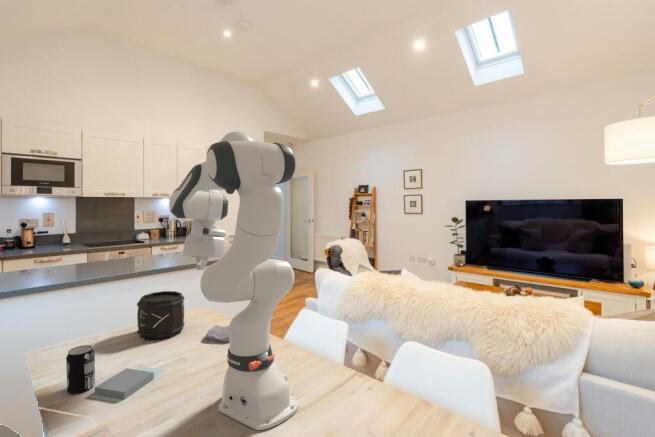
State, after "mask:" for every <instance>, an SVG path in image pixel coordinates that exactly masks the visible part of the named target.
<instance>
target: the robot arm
mask: <svg viewBox="0 0 655 437" xmlns="http://www.w3.org/2000/svg"><path fill="white" fill-rule="evenodd" d="M295 172H296V157H295V154H294V153H293V150H292V148H290V147H289V146H288V145H286V144H283V143H281V142H266V141H254V140H253V138H251V136H250V135H248V134H246V133H244V132H241V131H234V130H233V131H230V132H227V133H226V134H225V135H224V136H223V137H222V138H221V139H220V140H219V141H218V142H214V143H211V145H210V146H209V148H208V149H207V152H206V159H205V161H203V162H201V163H198V164H196V165H194V166H193V167H192V168H191V170H189V172H188V173H187V175H186V176H185V178H184V179H183V180H182V181H181V183H180V185H179V186H177V188H176V189H175V190H173V191H172V194H171V196H170V198H169V201H168V202H169V204H168V205H169V207H168V208H169V211H170V213H171V214H172V215H173V216H174V217H175V218H176V219H192V221H191V230H190V232H188V233H189V234H188V235H187V236H186V237H185V239H184V240H185V241H184V244H183V249H182V253H183V254H182V255H183V256H184V257H194V261H195V265H196V267H195V268H196V270H198V271H199V270H200V271H203V273H202V275H201V277H200V290H201V293H202V295H203V296H204V298H205V299H206V300H207V301H208V302H212V303H221V304H222V303H226V304H228V303H237V302H245V301H249V303H248V305H247V306H246V307H245V308H244V309H242V310H240V311H239V312H237V313H236V315H234V316H233V317H232V319H231V321H230V322H229V325H230V326H229V342H228V343H229V345H228V346H229V347H228V349H227V356H226V358H227V364H228V367H227V370H226V372H225V375H224V377H223V385H222V386H223V387H222V396H221V397H222V398H221V402H220V403H219V404H218V406H217V407H218V408H217V410H218V411H219V412H220V413H222V414H223V415H226V416H228V417H230V418H231V419H234V420H236V421H237V422H240V423H241V424H243V425H246V426H248V427H249V428H252V429H253V430H256V431H262V430H263V431H264V430H267V429H271V428H273V427H275V426H277V425H279V424H281V423H283V422H284V421H286V420H288V419H289V418H291V417H292V416H293V415H294V414H295V413H296V412H297V411H298V410H299V407H300V403H299V402H298V400H297V399H296V398H295V397H294V396H292V395H291V393H290V386H289V383H288V377H287V375H286V373H282V372H281V371H280V369H279V368H278V366H277V365H276V363H275V362H274V361H275V360H274V359H276V357H275V356H276V354H273V349H272V347H271V344H270V339H271V338H270V337H271V323H272V317H273V315H274V311H275V309H276V308H277V306H278V304H279V303H280V302H281V301H282V300H283V298H285V296H286V295H287V294H289V293H290V291H292V288H293V286H294V284H295V276H296V275H295V271H294V269H293V267H292V265H291V264H290V263H289V262H288V261H287V260H282V259H275V258H272V257H273V256H274V255H275V253H276V251H277V248H278V244H279V238H280V235H281V229H282V224H283V218H284V193H283V190H282V189H281V188H280V187H279V185H280V184H284V183H286V182H289V181H291V179H292V178H293V176H294V173H295ZM220 191H225V193H226V194H228V195H233V194H235V191H236V192H237V194H238V196H239V206H238V211H237V218H236V223H235V224H236V225H235V232H234V236H233V239H232V244H231V246H230V247H229V249H228V250H227V252H226V253H225V244H226V243H225V237H226V234H227V232H226V230H224V229H222V228H220V227H219V226H218V225H219V224H218V221H222V220H223V219H225V218H226V217H227V216H228V214H229V213H228V211H229V200H228V199H227V197H226V196H225V195H224V194H221V193H220ZM224 253H225V254H224ZM210 258H217V259H218V258H220V259H218V260H217V261H215V262H213V263H212V264H210V265H208V266H207V264H208V262H209V259H210ZM206 266H207V267H206Z"/></svg>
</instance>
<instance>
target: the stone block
mask: <svg viewBox="0 0 655 437" xmlns="http://www.w3.org/2000/svg"><path fill="white" fill-rule="evenodd" d="M229 326H230V324H229V325H226V326H223V325H219V324H217V325H214V326H212V327H210V328H209V329H208V331H207V332H206V337H205V338H206V340H208V341H212V342H219V343H229Z"/></svg>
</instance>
